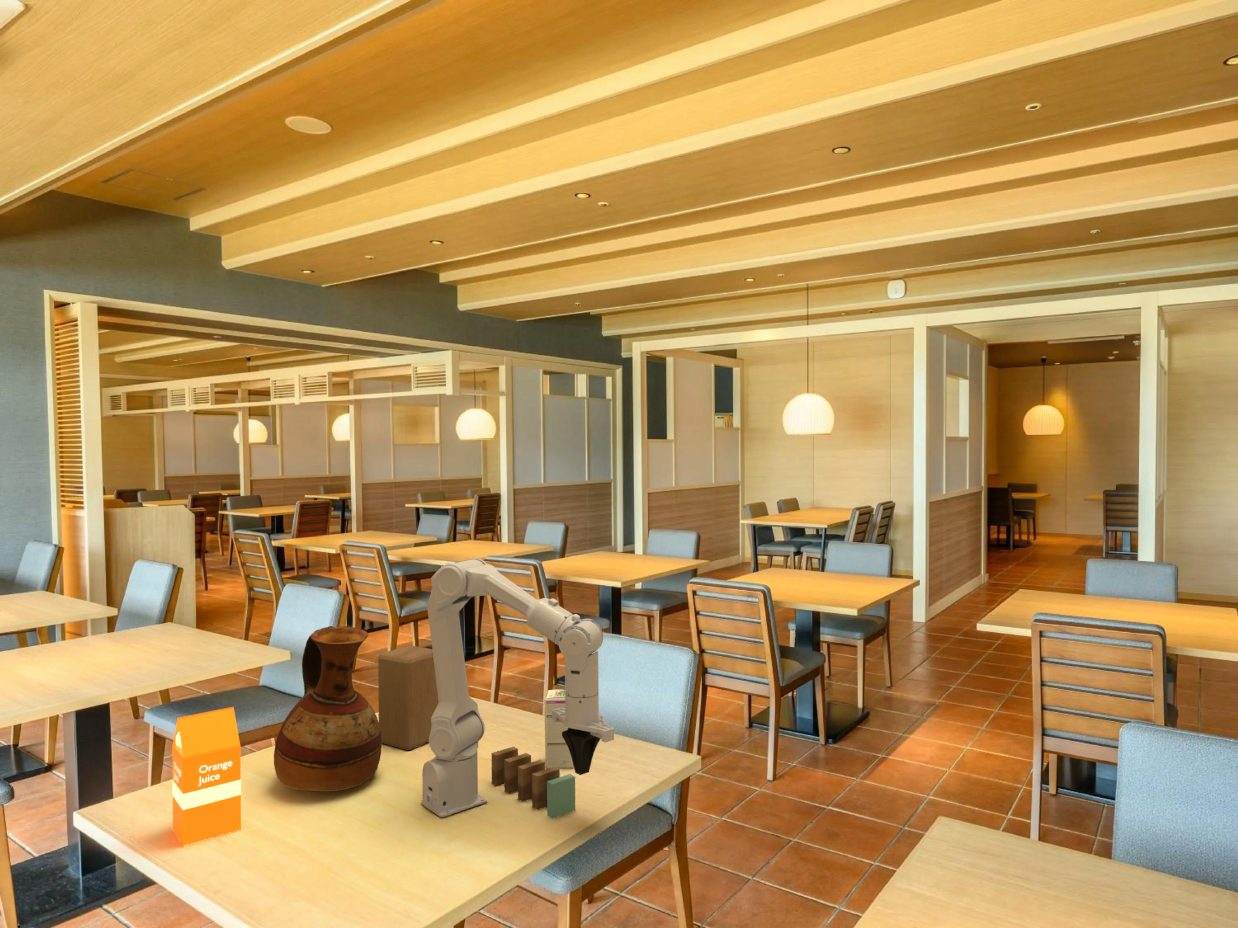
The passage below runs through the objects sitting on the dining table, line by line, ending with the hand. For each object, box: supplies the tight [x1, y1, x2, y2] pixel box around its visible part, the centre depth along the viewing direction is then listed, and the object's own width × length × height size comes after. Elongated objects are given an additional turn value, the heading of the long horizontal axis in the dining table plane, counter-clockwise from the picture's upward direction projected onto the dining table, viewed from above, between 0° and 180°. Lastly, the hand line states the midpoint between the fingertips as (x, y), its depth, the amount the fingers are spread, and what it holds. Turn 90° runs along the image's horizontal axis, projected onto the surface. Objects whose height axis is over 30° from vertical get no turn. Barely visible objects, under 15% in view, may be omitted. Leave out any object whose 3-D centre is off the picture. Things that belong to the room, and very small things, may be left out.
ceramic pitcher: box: [273, 625, 383, 792], centre depth 151 cm, size 20×20×30 cm
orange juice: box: [171, 706, 242, 847], centre depth 131 cm, size 8×9×20 cm
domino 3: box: [517, 759, 546, 803], centre depth 144 cm, size 5×2×6 cm, turn 132°
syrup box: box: [544, 688, 574, 770], centre depth 160 cm, size 6×6×14 cm
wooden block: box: [377, 645, 439, 751], centre depth 173 cm, size 10×10×20 cm
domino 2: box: [504, 752, 532, 795], centre depth 147 cm, size 5×2×6 cm, turn 131°
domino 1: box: [491, 746, 519, 787], centre depth 151 cm, size 5×2×6 cm, turn 131°
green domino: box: [546, 773, 576, 820], centre depth 137 cm, size 5×2×6 cm, turn 132°
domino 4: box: [531, 767, 561, 811], centre depth 141 cm, size 5×2×6 cm, turn 132°
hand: (582, 772), depth 133 cm, fingers closed
